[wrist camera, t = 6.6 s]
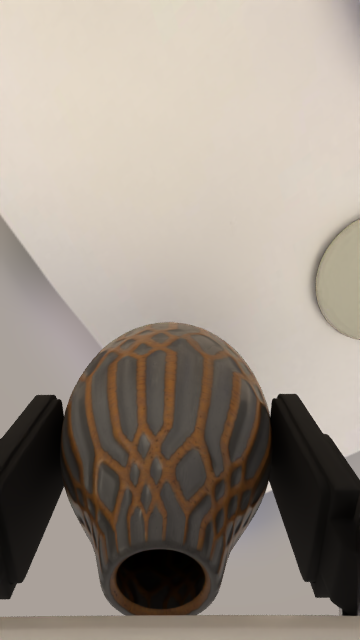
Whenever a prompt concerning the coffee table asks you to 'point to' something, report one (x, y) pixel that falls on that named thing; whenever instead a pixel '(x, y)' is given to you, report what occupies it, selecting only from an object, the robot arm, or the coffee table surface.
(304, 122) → the coffee table surface
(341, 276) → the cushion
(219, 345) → the vase
